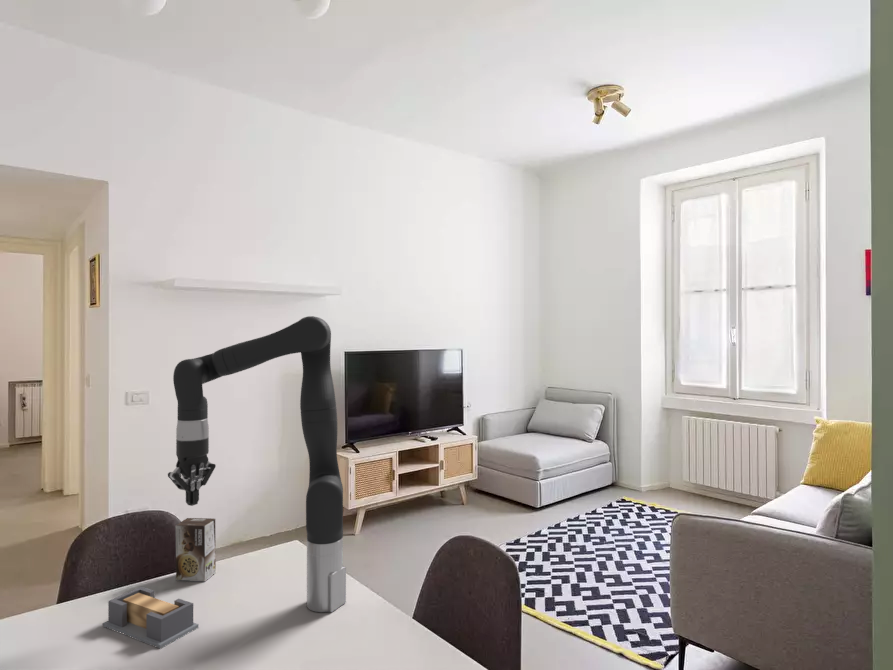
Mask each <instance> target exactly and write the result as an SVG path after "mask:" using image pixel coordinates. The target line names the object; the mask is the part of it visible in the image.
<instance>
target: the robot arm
mask: <svg viewBox="0 0 893 670" xmlns="http://www.w3.org/2000/svg"><path fill="white" fill-rule="evenodd" d="M331 340H332V330H331V327H330V325H329V323H328V322H326V320H324V319H322V318H321V317H317V316H311V315H309V316H305V317H302V318H300V319H299V320H298V321H296V322H294V323H292V324H290V325H288V326H286V327H284V328H282V329H279V330H277V331H275V332H272V333H271V334H270V333H269V334H266V335H263V336H260V337H256V338H254V339H251V340H246V341H243V342H242V341H241V342H239V343H236V344H233V345H229V346H226V347H224V348H221V349H217V350H216V351H214V352H213V353H210V354H205V355H203V356H198V357H195V358H187V359H182V360H181V361H179V362H178V363H177V365H176V366H175V368H174V370H173V378H172V379H173V387H174V388H173V389H174V392H175V398H176V400H177V422H176V430H175V434H176V435H175V438H176V440H175V441H176V443H175V444H176V445H175V448H176V449H175V452H176V453H175V455H176V458H177V462H176V465H175V469H174V470H173V471H169V472H168V473H167V477H168V478H169V479H170V481H171V482H172V483H173V484H174V485H175V486H176V487H177V490H182V491H185V503H186V504H187V506H192V507H193V506H195V505H198V502H199V501H200V489H201V487H203V486H205V485H207V484H208V481H209V479H210V478H211V476H212V474H213V473H214V470H215V468H216V465H217V464H215V463H212V462H210V461H209V457H208V454H209V448H210V446H209V445H210V444H209V443H210V441H209V440H210V439H209V437H210V436H209V432H210V431H209V429H210V428H209V426H210V425H209V419H208V417H209V416H208V415H209V414H208V404H209V403H208V399H207V397H206V396H204V390H203V385H204V384H206V383H209V382H212V381H214V380H216V379H217V380H218V379H220V378H222V377H225V376H231V375H233V374H236V373H237V374H238V373H239V372H242V371H245V370H249V369H252V368H254V367H256V366H259V365H262V364H264V363H267V362H269V361H271V360H274V359H277V358H280V357H283V356H288V355H293V354H298V353H300V355H301V357H300V358H301V363H302V364H301V365H302V378H301V387H300V401H299V402H300V403H299V406H300V408H299V409H300V419H301V428H302V433H303V438H304V442H305V445H306V449H307V454H308V459H309V460H308V461H309V462H308V463H309V473H308V474H309V479H308V480H309V481H308V482H309V483H308V489H307V492H306V496H305V530H306V607H307V608H308V610H310V611H312V612H315V613H324V612H325V613H326V612H328V613H333V612H334V611H336V610H337V609H338V608H340V607H341V606H343V605H344V604H346V602H347V567H346V565H344V563H343V561H344V560H343V559H344V557H343V554H344V553H343V552H344V549H343V548H344V539H343V537H344V522H343V521H344V512H343V511H344V486H343V483H342V482H343V481H342V478H341V474H340V473H341V472H340V469H339V461H338V455H337V453H338V452H337V450H338V412H337V411H338V410H337V403H336V402H337V400H336V393H335V387H334V380H333V377H332V375H333V374H332V370H331V367H332V366H331V346H332V345H331V344H332V343H331V342H332V341H331Z"/></svg>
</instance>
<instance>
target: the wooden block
mask: <svg viewBox="0 0 893 670" xmlns="http://www.w3.org/2000/svg"><path fill="white" fill-rule="evenodd" d="M123 602H125V603H127V622H129V623H132V624H135V625H137V626H140V627H143V628H145V629H146V615H147V614H148V613H150V612H153V613H156V614H159V615H162V616H163V615H165V614H167V613H169V612H171V611H173V610H175V609H177V608H179V606H177V605H174V603H171V602H168V601H164V600H162V599H159V598H153V597H150V596H147V595H144V594H141V593H137V594H135V595H132V596H130V597H128V598H126V599H123Z"/></svg>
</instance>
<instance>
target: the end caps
mask: <svg viewBox="0 0 893 670" xmlns="http://www.w3.org/2000/svg"><path fill="white" fill-rule="evenodd" d="M137 593H141V594H144V595H147V596H150V597H153V598H155V595H156V594H155V593H156V590H153V589H150V588H147V587H143V586H139V587H137V588H134V589H133V590H130V591H128V592H125V593H123V594H120V595H118V596H116V597H114V598H112V599H109V600H108V602H107V603H108V604H107V605H108V609H107V610H108V612H107V613H108V620H106V621H105V622H103V623H102V627H103V626H104V628H106V627H107V629H109V628H110V629H109V630H111V629H113V630H112V631H114V630H115V631H114V632H116V631H118V632H117V633H119V632H121V633H124V634H126V635H125V636H127V635H129V636H131V637H130V638H132V637H133V639H134V638H136V639H135V640H137V639H138V641H139V640H140V641H139V642H142V641H143V643H145V642H146V643H145V644H147V643H148V645H150V644H151V645H150V646H152V645H154V646H153V647H155V646H156V647H155V648H157V647H159V648H158V649H160V648H161V647H163V646H164V647H166V646H168V645H170V644H171V643H170V642H172V641H173V642H175V641H177V640H179V639H181V638H182V637H184V636H185V634H186V635H188V634H189V633H188V632H190V633H191V632H193V631H195V630H196V628H197V629H199V623H195V622H194V602H190V601H187V600H185V599H182V598H177V599H176V600H174V603H173V604H174V605H177V606H179V608H177V609H175V610H173V611H171V612H169V613H167V614H165V615H163V616H162V615H159V614H156V613H153V612H150V613H148V614H147V615H146V629H145V628H143V627H140V626H137V625H135V624H132V623H129V622H127V603H125V602H123V599H126V598H128V597H130V596H132V595H135V594H137ZM194 629H195V630H194ZM192 630H193V631H192ZM121 633H120V634H121ZM187 633H188V634H187ZM124 634H123V635H124ZM183 635H184V636H183ZM129 636H128V637H129ZM180 637H181V638H180ZM178 638H179V639H178ZM176 639H177V640H176ZM174 640H175V641H174ZM173 642H172V643H173ZM169 643H170V644H169ZM167 644H168V645H167ZM165 645H166V646H165ZM164 647H163V648H164ZM161 649H162V648H161Z"/></svg>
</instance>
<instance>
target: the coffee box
mask: <svg viewBox="0 0 893 670" xmlns="http://www.w3.org/2000/svg"><path fill="white" fill-rule="evenodd" d="M174 527H175V581H176V580H190V581H189V582H206V581H207V579H208V580H209V579H210V578H211V577H213V576H214V575H215V574H216V570H217V569H216V562H217V561H216V557H217V556H216V554H217V553H216V518H202V517H187V518H184V519H183V520H182V521H180V522H179V523H177V524H175V526H174ZM213 574H214V575H213ZM212 575H213V576H212Z"/></svg>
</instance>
